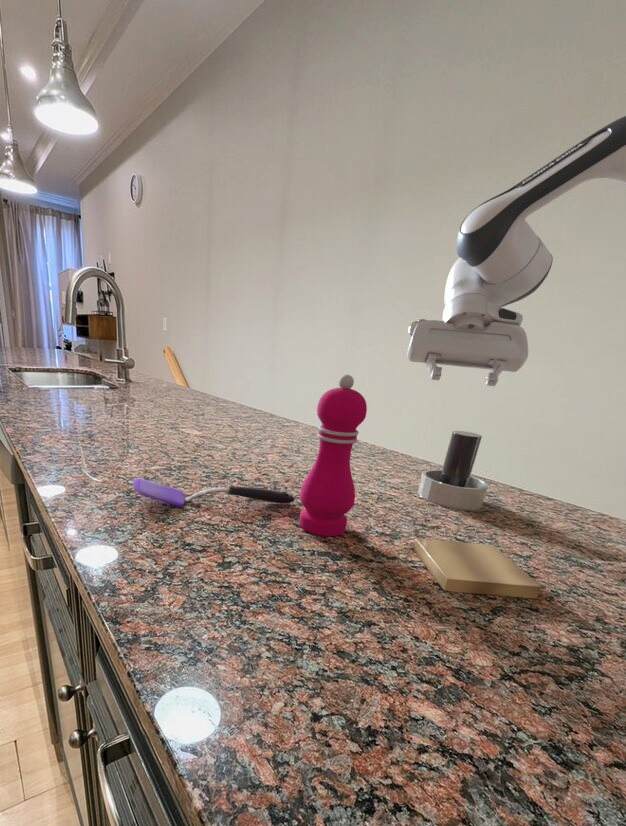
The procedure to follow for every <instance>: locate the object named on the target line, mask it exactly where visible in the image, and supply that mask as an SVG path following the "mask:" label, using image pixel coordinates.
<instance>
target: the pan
mask: <svg viewBox="0 0 626 826" xmlns="http://www.w3.org/2000/svg"><path fill="white" fill-rule="evenodd" d="M441 472H442V469H426V470H424V471H422V472H421V476H420V479H419V483H418V487H417V494H418V496H419V497H421V498H422V499H424V500H425V501H428V502H430V503H433V504H436V505H438V506H442V507H447V508H452V509H458V510H478V509H480V508H482V507H483V506H484V502H485V499H486V495H487V493H488V490H489V484H488V482H486V481H485V480H483V479H482V478H479V477H476V476H474V475H471V476H470V479H469V483H468V486H467V488H466V487H458V486H452V485H448V484H444V483H441V482H439V480H440V476H441Z"/></svg>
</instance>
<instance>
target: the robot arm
mask: <svg viewBox="0 0 626 826" xmlns="http://www.w3.org/2000/svg"><path fill="white" fill-rule="evenodd" d="M596 179H608V180H614V181H616V182H619V183H621V184H625V185H626V115H624V116H622V117H619V118H618V119H616V120H614V121H612V122H610V123H608V124H606V125H605V126H603V127H602V128H600V129H598V130H597V131H595V132H594V133H592V134H590V135H589V136H587V137H586V138H584V139H582V140H581V141H579V142H578V143H576V144H575V145H574V146H572V147H570V148H568V149H566V151H564V152H562V153H561V154H560V155H558V156H557V157H555V158H554V159H552V160H551V161H549V162H548V163H546V164H545V165H543V166H542V167H540V168H539V169H537V170H536V171H534V172H532V173H531V174H530V175H529V176H527V177H525V178H524V179H521V181H519V182H518V183H516V184H515V185H513V186H511V187H510V188H509V189H507V190H505V191H502V192H501V193H499V194H497V195H495V196H492V197H491V198H489V199H487V200H485V201H484V202H482V203H481V204H479V205H478V206H476V207H475V208H474V209H473V210H472V211H470V212H469V213H468V214H467V215H466V216H465V218H464V219H463V221H462V222H461V223H460V226H459V229H458V232H457V236H456V247H455V248H456V249H455V250H456V255H457V256H458V258H457V259H456V260H455V262H453V265H452V266H451V268H450V270H449V273H448V276H447V278H446V283H445V289H444V298H443V300H444V301H443V302H444V308H443V311H442V319H441V320H438V319H437V320H436V319H430V320H429V319H424V318H420V319H418V320H415V321H412V322H410V324H409V326H408V334H409V335H408V336H410V337H411V338H410V341H409V344H408V348H407V352H406V358H407V359H408V361H410V362H411V363H419V364H420V363H421V364H425V368H426V369H427V371H428V372H429V374H430V380H431V381H440V379H441V377H442V371H443V367H442V366H450V367H451V366H452V367H461V368H472V369H482V370H490V372H488V374H487V375H486V378H485V386H487V387H496V385H497V384H498V381H499V376H500V375H501V374H502V372H509V373H510V372H511V373H516V372H518V371H520V369H521V368H523V366H524V365H525V363H526V362H527V360H528V357H529V343H528V336H527V332H526V331H525V329H524V328H523V327H522V323H523V320H524V318H523V315H522V314H521V313H520V312H516V311H514V310H510V309H509V308H505V307H506V306H508V305H512V304H514V303H517V302H519V301H522V300H524V299H525V298H527V297H529V296H530V295H531V294H534V292H536V291H537V290H538V289H539V288H540V286H542V285H543V283H544V281H545V280H546V278H547V277H548V275H549V274H550V271H551V268H552V266H553V259H554V258H553V254H552V253H551V252H550V250H549V249H548V247H547V246H546V245H545V243H544V242H543V241H542V239H541V238H540V237H539V236H538V235H537V234H536V232H535V231H534V229H533V228H532V227H531V226H530V224H529V222H528V221H527V220H526V218H528V217H529V216H531V215H532V214H534V213H535V212H537V211H538V210H540V209H541V208H543V207H545V206H546V205H548V204H550V203H551V202H553V201H555V200H556V199H559V198H560V197H561V196H563V195H564V194H566V193H567V192H569V191H571V190H572V189H574V188H575V187H577V186H579V185H581V184H583V183H585V182H587V181H591V180H596ZM438 365H441V366H438Z"/></svg>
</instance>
